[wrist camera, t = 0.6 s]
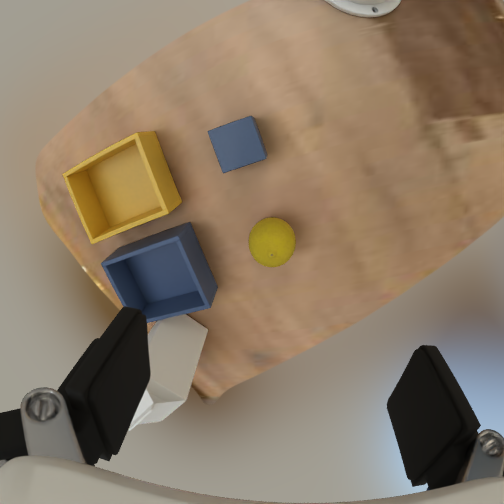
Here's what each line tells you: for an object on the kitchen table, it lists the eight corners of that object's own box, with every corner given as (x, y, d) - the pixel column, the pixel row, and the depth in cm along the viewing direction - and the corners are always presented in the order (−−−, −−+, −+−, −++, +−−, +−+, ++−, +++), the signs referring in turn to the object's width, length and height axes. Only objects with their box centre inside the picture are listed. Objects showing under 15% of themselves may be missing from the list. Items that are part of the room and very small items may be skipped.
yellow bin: (84, 167, 39) (62, 174, 34) (154, 130, 37) (137, 132, 31) (110, 230, 42) (91, 244, 37) (182, 202, 40) (169, 213, 35)
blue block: (215, 131, 36) (207, 131, 32) (254, 117, 35) (251, 115, 31) (229, 168, 38) (222, 173, 33) (267, 155, 37) (266, 158, 32)
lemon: (247, 246, 42) (241, 272, 34) (255, 206, 40) (250, 225, 32) (288, 254, 42) (291, 282, 34) (298, 215, 40) (303, 235, 32)
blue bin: (118, 247, 43) (100, 263, 38) (190, 221, 41) (178, 235, 36) (147, 305, 47) (134, 325, 42) (218, 287, 44) (210, 308, 39)
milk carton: (209, 328, 47) (179, 425, 30) (185, 353, 50) (153, 444, 32) (171, 302, 46) (123, 392, 29) (150, 329, 48) (104, 415, 31)
